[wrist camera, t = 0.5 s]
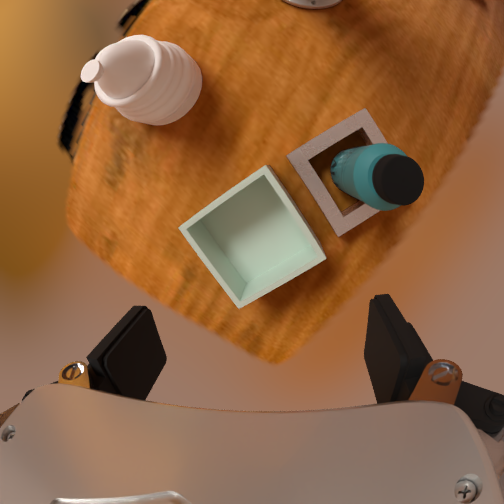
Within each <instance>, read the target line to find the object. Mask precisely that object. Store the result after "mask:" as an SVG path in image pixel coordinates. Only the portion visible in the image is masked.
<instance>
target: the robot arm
mask: <svg viewBox="0 0 504 504" xmlns="http://www.w3.org/2000/svg"><path fill="white" fill-rule="evenodd" d="M283 1H284V2H286V3H289V4H291V5H294V6H297V7H302V8H308V9H322V8H328V7H332V6H334V5H336V4H338V3H340V2H341V1H342V0H283ZM87 359H88V361H89V365H88V366H87V365H86V363H84V362H82V361H75V362H71V363H69V364H67V365H65V366H64V367H63V368H62V369H61V371H60V372H59V380H58V381H57V382H54V383H51V384H47V385H43V386H39V387H37V388H36V389H33V390H29V391H28V392H26V394H25V396H24V397H23V399H22V402H21V403H18V404H17V405H15V406H13V407H11V408H10V409H8V410H6V411H4V412H3V413H1V414H0V504H504V395H502V394H499V393H496V392H493V391H490V390H487V389H484V388H481V387H478V386H475V385H472V384H470V383H467V382H464V381H462V375H463V374H462V371H461V369H460V368H459V366H458V365H457V364H455V363H454V362H452V361H449V360H445V359H438V360H434V361H433V359H432V358H431V356H430V354H429V353H428V351H427V349H426V347H425V346H424V344H423V343H422V341H421V339H420V337H419V336H418V334H417V332H416V331H415V329H414V328H413V326H412V325H411V323H409V322H408V323H407V322H406V320H405V319H404V317H403V315H402V314H401V312H400V311H399V309H398V308H397V306H396V304H395V303H394V302H393V300H392V298H391V297H390V295H389V294H382V295H375V297H374V299H371V300H370V305H369V315H368V325H367V334H366V341H365V349H364V359H365V362H366V365H367V369H368V372H369V375H370V379H371V382H372V386H373V389H374V393H375V397H376V400H377V404H371V405H362V406H354V407H345V408H335V409H322V410H306V411H233V410H217V409H205V408H195V407H186V406H178V405H171V404H164V403H157V402H152V401H146V400H145V399H146V398H147V396H148V394H149V392H150V390H151V389H152V387H153V385H154V383H155V381H156V380H157V378H158V376H159V374H160V372H161V371H162V369H163V367H164V365H165V364H166V359H167V358H166V354H165V351H164V348H163V345H162V343H161V340H160V337H159V334H158V331H157V328H156V325H155V322H154V319H153V315H152V312H151V310H149V309H148V308H147V307H146V306H133V307H132V308H131V309H130V310H129V311H128V312H127V314H126V315H125V316H124V317H123V318H122V319H121V320H120V321H119V322H118V323H117V324H116V325H115V326H114V327H113V328H112V330H111V331H110V332H109V333H108V334H107V335H106V336H105V337H104V339H102V340H101V342H100V343H99V344H98V345H97V346H96V347H95V348H94V349H93V351H92V352H91V353H90V354H89V355H88V356H87Z"/></svg>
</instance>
